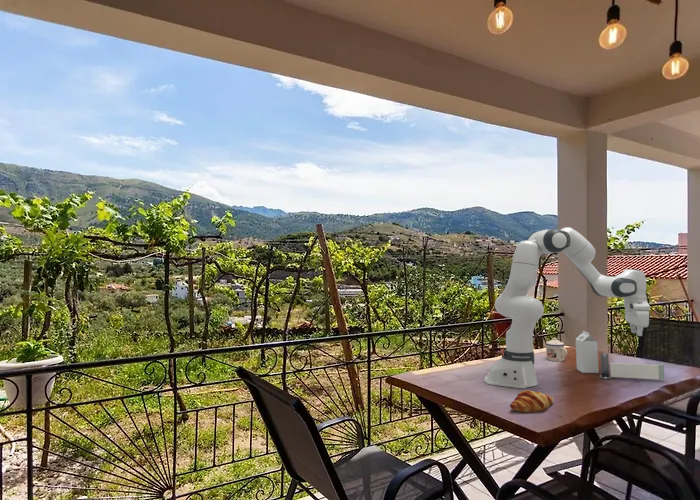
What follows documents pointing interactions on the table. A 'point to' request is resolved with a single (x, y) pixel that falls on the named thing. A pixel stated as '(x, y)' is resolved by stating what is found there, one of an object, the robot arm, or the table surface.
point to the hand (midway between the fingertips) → (636, 334)
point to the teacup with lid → (555, 350)
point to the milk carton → (587, 353)
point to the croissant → (531, 401)
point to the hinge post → (605, 367)
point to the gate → (637, 371)
